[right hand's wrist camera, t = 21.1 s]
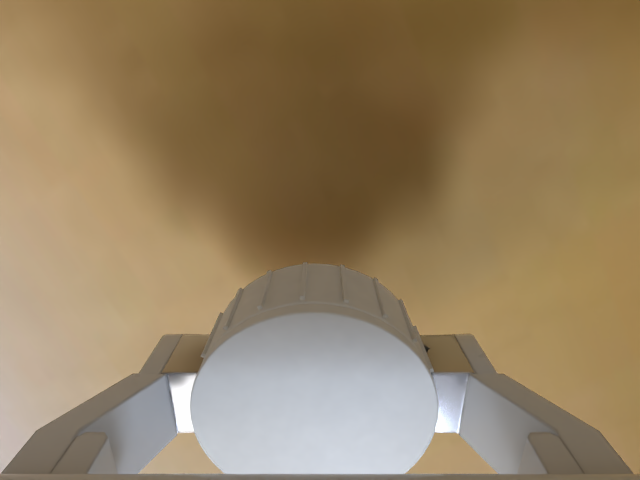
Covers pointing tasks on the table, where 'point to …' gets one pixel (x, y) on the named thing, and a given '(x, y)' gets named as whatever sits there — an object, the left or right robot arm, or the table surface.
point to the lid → (314, 378)
